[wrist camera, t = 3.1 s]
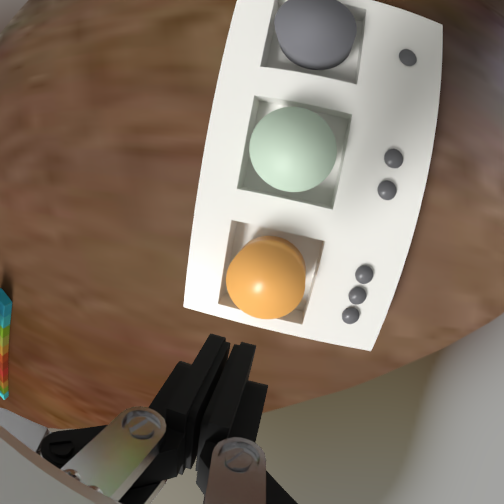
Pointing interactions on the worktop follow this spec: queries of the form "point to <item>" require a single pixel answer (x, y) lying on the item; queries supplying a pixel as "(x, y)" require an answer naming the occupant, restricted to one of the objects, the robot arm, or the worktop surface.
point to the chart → (4, 341)
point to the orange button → (267, 278)
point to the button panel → (337, 182)
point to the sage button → (293, 149)
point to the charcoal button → (315, 32)
